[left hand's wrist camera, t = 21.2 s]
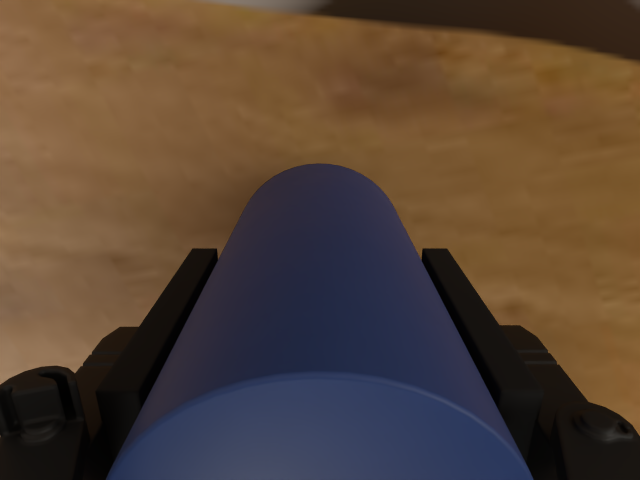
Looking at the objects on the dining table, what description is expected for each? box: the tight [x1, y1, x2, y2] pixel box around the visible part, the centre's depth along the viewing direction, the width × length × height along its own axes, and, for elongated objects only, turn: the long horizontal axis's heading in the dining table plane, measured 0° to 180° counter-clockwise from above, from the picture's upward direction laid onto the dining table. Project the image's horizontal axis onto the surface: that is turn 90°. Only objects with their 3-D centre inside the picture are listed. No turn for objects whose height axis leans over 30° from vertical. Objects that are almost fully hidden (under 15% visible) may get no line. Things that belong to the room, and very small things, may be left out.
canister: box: [106, 164, 534, 480], centre depth 12 cm, size 6×6×12 cm
